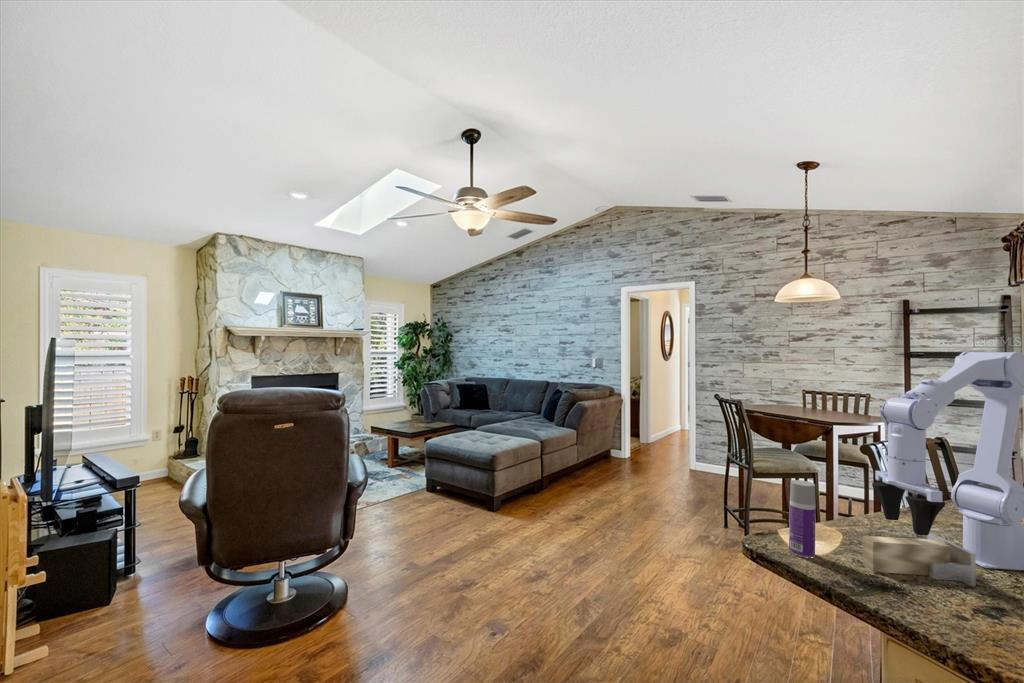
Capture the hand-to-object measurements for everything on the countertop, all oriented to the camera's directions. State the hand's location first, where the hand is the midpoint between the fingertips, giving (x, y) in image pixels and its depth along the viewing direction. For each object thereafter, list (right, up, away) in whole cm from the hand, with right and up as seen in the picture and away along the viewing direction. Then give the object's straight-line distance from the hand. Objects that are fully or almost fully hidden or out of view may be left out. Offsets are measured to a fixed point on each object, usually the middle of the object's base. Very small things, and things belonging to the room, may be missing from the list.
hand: (905, 526), depth 91 cm
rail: (0, -9, 0) cm, 9 cm away
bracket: (+5, -9, -1) cm, 10 cm away
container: (-17, -9, +6) cm, 20 cm away
